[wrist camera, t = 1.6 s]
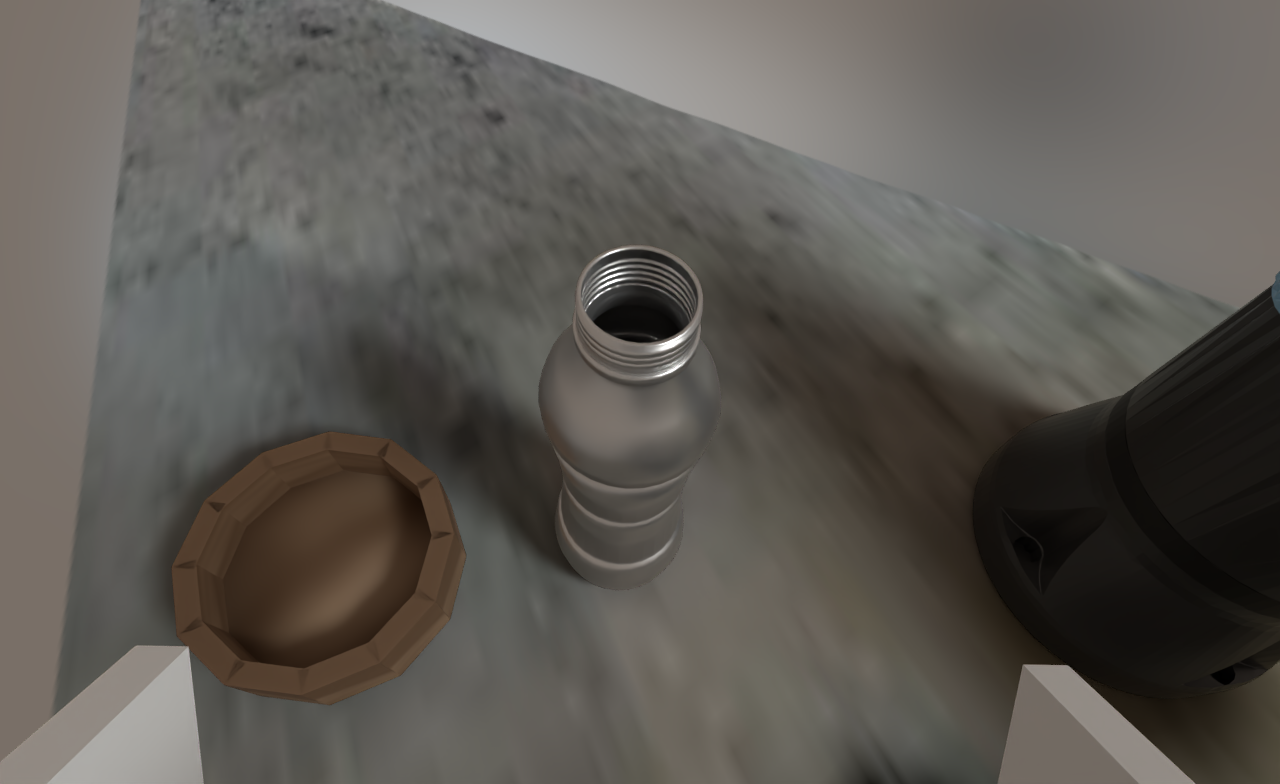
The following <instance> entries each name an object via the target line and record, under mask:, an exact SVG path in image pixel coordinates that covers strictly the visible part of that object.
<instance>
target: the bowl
mask: <svg viewBox="0 0 1280 784" xmlns="http://www.w3.org/2000/svg"><path fill="white" fill-rule="evenodd" d="M465 559H466V553H465V549H464V546H463V543H462V540H461V536H460V533H459V530H458V526H457V523H456V520H455V517H454V513H453V510H452V507H451V504H450V501H449V499H448V497H447V495H446V493H445V491H444V489H443V487H442V485H441V483H440V481H439V479H438V477H437V475H436V474H435V473H433V472H432V471H431V470H430V469H428V468H427V467H426V466H425V465H423V464H422V463H421V462H419V461H418V460H417V459H416V458H414V457H413V456H412V455H411V454H409V453H408V452H407V451H405V450H404V449H403V448H402V447H400V446H399V445H398V444H397V443H395V442H394V441H393V440H391V439H384V438H376V437H368V436H361V435H353V434H345V433H337V432H326V433H323V434H319V435H316V436H313V437H310V438H307V439H304V440H300V441H297V442H294V443H291V444H288V445H285V446H281V447H278V448H275V449H272V450H269V451H266V452H262V453H261V454H260V455H259V456H257V457H256V458H255V459H254V460H253V461H251V462H250V463H249V464H248V465H247V466H245V467H244V468H243V469H242V470H241V471H239V472H238V473H237V474H236V475H235V476H233V477H232V478H231V479H230V480H229V481H227V482H226V483H225V484H224V485H223V486H221V487H220V488H219V489H218V490H217V491H215V492H214V493H213V494H212V495H211V496H209V497H208V498H207V499H206V500H205V501H204V502H203V504H202V506H201V508H200V510H199V513H198V515H197V517H196V519H195V521H194V523H193V525H192V527H191V529H190V531H189V533H188V535H187V537H186V539H185V541H184V543H183V545H182V547H181V549H180V551H179V553H178V555H177V557H176V559H175V561H174V563H173V565H172V567H171V568H172V581H173V594H174V606H175V619H176V632H177V637H178V638H179V639H180V640H181V641H182V642H183V643H184V644H185V645H186V646H187V647H189V649H190V650H191V651H192V652H193V653H194V654H195V655H196V656H197V657H198V658H199V660H200V661H201V662H202V663H203V664H204V665H205V666H206V667H207V668H208V669H209V670H210V671H211V672H212V673H213V674H214V675H215V676H216V677H217V678H218V679H219V680H220V681H221V682H222V683H223V684H224V685H226V686H229V687H232V688H236V689H239V690H243V691H246V692H249V693H253V694H256V695H259V696H265V697H273V698H280V699H288V700H295V701H303V702H311V703H318V704H326V705H332V704H334V703H336V702H339V701H341V700H343V699H346V698H348V697H351V696H353V695H355V694H358V693H360V692H362V691H365V690H367V689H370V688H372V687H374V686H377V685H379V684H382V683H384V682H386V681H389V680H391V679H393V678H396V677H398V676H401V675H402V673H403V672H404V671H405V670H406V669H407V668H408V667H409V666H410V664H411V663H412V662H413V661H414V660H415V659H416V658H417V656H418V655H419V654H420V653H421V652H422V651H423V650H424V648H425V647H426V646H427V645H428V644H429V643H430V642H431V640H432V639H433V638H434V637H435V636H436V635H437V634H438V632H439V631H440V630H441V629H442V628H443V627H444V626H445V625H446V623H447V622H448V621H449V620H450V618H451V614H452V610H453V606H454V602H455V598H456V594H457V591H458V587H459V583H460V579H461V575H462V571H463V567H464V563H465Z"/></svg>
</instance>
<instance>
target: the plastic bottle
mask: <svg viewBox="0 0 1280 784" xmlns="http://www.w3.org/2000/svg"><path fill="white" fill-rule="evenodd" d="M702 312H703V293H702V287H701V285H700V282H699V280H698V278H697V276H696V275H695V273H694V272H693V270H692V269H691V268H690V267H689V266H688V265H687V264H686V263H685V262H684V261H683V260H681V259H680V258H678V257H677V256H676V255H674V254H672V253H670V252H668V251H666V250H663V249H660V248H656V247H653V246H647V245H625V246H619V247H615V248H612V249H609V250H607V251H605V252H603V253H601V254H599V255H597V256H596V257H595V258H594V259H592V260H591V261H590V262H589V263H588V264H587V265H586V267H585V268H584V269H583V271H582V273H581V275H580V277H579V279H578V283H577V287H576V291H575V310H574V315H573V324H572V325H571V326H569V327H568V328H567V329H566V330H565V331H564V332H563V333H562V334H561V335H560V337H559V338H558V339H557V340H556V342H555V343H554V345H553V347H552V349H551V351H550V353H549V355H548V357H547V359H546V362H545V364H544V367H543V369H542V373H541V377H540V382H539V393H538V402H539V407H540V412H541V416H542V420H543V423H544V427H545V431H546V433H547V435H548V437H549V440H550V442H551V444H552V446H553V448H554V451H555V453H556V455H557V457H558V460H559V462H560V467H561V471H562V476H563V481H562V489H561V491H560V493H559V498H558V503H557V508H556V513H555V531H556V536H557V541H558V543H559V546H560V548H561V551H562V553H563V554H564V556H565V557H566V559H567V560H568V562H569V563H570V565H571V566H572V567H573V568H574V570H575V571H576V572H577V573H578V574H580V575H581V576H582V577H583V578H584V579H586V580H587V581H589V582H590V583H592V584H594V585H597V586H599V587H602V588H605V589H611V590H629V589H633V588H637V587H640V586H642V585H644V584H646V583H648V582H650V581H651V580H653V579H654V578H655V577H657V576H658V575H659V574H660V573H661V572H662V571H664V570H665V569H666V567H667V566H668V565H669V564H670V563H671V561H672V560H673V559H674V557H675V555H676V553H677V551H678V549H679V547H680V543H681V540H682V537H683V526H684V514H683V504H682V499H681V497H682V490H683V487H684V485H685V483H686V480H687V478H688V475H689V474H690V472H691V471H692V469H693V468H694V466H695V465H696V463H697V462H698V460H699V459H700V457H701V456H702V455H703V453H704V451H705V450H706V448H707V446H708V444H709V442H710V441H711V438H712V436H713V434H714V432H715V430H716V427H717V424H718V421H719V417H720V414H721V399H722V397H721V390H720V384H719V379H718V374H717V369H716V366H715V364H714V361H713V358H712V356H711V354H710V352H709V350H708V349H707V347H706V346H705V344H704V343H703V341H702V340H701V339H700V332H701V324H700V321H701V316H702Z"/></svg>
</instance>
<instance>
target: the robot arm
mask: <svg viewBox="0 0 1280 784" xmlns="http://www.w3.org/2000/svg"><path fill="white" fill-rule="evenodd" d="M973 521H974V529H975V535H976V540H977V544H978V547H979V551H980V554H981V557H982V560H983V562H984V565H985V567H986V569H987V572H988V574H989V576H990V578H991V580H992V582H993V583H994V585H995V587H996V589H997V590H998V592H999V594H1000V595H1001V597H1002V598H1003V600H1004V601H1005V603H1006V604H1007V606H1008V607H1009V608H1010V610H1011V611H1012V612H1013V614H1014V615H1015V616H1016V617H1017V618H1018V620H1019V621H1020V622H1021V623H1022V624H1023V625H1024V626H1025V627H1026V629H1027V630H1028V631H1029V632H1030V633H1031V634H1032V635H1033V636H1034V637H1035V638H1036V639H1037V640H1038V641H1039V642H1041V643H1042V644H1043V645H1044V646H1045V647H1046V648H1047V649H1049V650H1050V651H1051V652H1052V653H1054V654H1055V655H1056V656H1058V657H1059V658H1060V659H1062V660H1063V661H1064V662H1066V663H1067V664H1069V665H1070V666H1072V667H1073V668H1075V669H1077V670H1078V671H1080V672H1081V673H1083V674H1085V675H1087V676H1089V677H1091V678H1093V679H1095V680H1097V681H1099V682H1101V683H1103V684H1105V685H1108V686H1111V687H1113V688H1116V689H1119V690H1122V691H1125V692H1128V693H1132V694H1136V695H1140V696H1146V697H1152V698H1162V699H1176V698H1187V697H1193V696H1199V695H1205V694H1211V693H1217V692H1222V691H1227V690H1230V689H1233V688H1236V687H1239V686H1241V685H1244V684H1246V683H1249V682H1251V681H1252V680H1254V679H1256V678H1258V677H1259V676H1261V675H1262V674H1263V673H1265V672H1266V671H1267V670H1269V669H1270V668H1271V667H1273V666H1274V665H1275V664H1277V663H1278V662H1279V661H1280V271H1279V272H1278V274H1277V275H1276V281H1275V283H1274V284H1273V285H1272V286H1270V287H1269V288H1268V289H1266V290H1265V291H1263V292H1262V293H1261V294H1259V295H1258V296H1257V297H1255V298H1254V299H1253V300H1251V301H1250V302H1248V303H1247V304H1246V305H1244V306H1243V307H1242V308H1240V309H1239V310H1238V311H1236V312H1235V313H1234V314H1232V315H1231V316H1229V317H1228V318H1227V319H1225V320H1224V321H1223V322H1221V323H1220V324H1219V325H1217V326H1216V327H1214V328H1213V329H1212V330H1210V331H1209V332H1208V333H1206V334H1205V335H1204V336H1202V337H1201V338H1200V339H1198V340H1197V341H1195V342H1194V343H1193V344H1191V345H1190V346H1189V347H1187V348H1186V349H1185V350H1183V351H1182V352H1180V353H1179V354H1178V355H1176V356H1175V357H1174V358H1172V359H1171V360H1170V361H1168V362H1167V363H1166V364H1164V365H1163V366H1161V367H1160V368H1159V369H1157V370H1156V371H1155V372H1153V373H1152V374H1151V375H1149V376H1148V377H1147V378H1146V379H1144V380H1143V381H1142V382H1141V383H1139V384H1138V385H1137V386H1135V387H1134V388H1133V389H1131V390H1130V391H1128V392H1127V393H1125V394H1124V395H1122V396H1118V397H1115V398H1111V399H1107V400H1104V401H1100V402H1097V403H1093V404H1090V405H1086V406H1083V407H1080V408H1076V409H1073V410H1070V411H1067V412H1064V413H1059V414H1055V415H1052V416H1049V417H1046V418H1043V419H1041V420H1039V421H1037V422H1035V423H1033V424H1031V425H1029V426H1027V427H1026V428H1024V429H1023V430H1021V431H1020V432H1019V433H1017V434H1016V435H1015V436H1014V437H1013V438H1011V439H1010V440H1009V441H1008V442H1007V443H1005V444H1004V445H1003V446H1002V447H1001V448H1000V449H999V450H997V451H996V452H995V453H994V455H993V456H992V457H991V458H990V459H989V461H988V462H987V463H986V465H985V467H984V469H983V470H982V472H981V475H980V477H979V479H978V482H977V486H976V490H975V494H974V502H973ZM0 784H204V782H203V773H202V764H201V755H200V746H199V737H198V728H197V719H196V710H195V701H194V692H193V683H192V674H191V665H190V656H189V647H186V646H139V645H136V646H135V647H134V648H132V649H131V650H130V651H129V652H128V653H127V654H125V655H124V656H123V657H122V658H121V659H120V660H118V661H117V662H116V663H115V664H114V665H113V666H111V667H110V668H109V669H108V670H107V671H106V672H104V673H103V674H102V675H101V676H100V677H99V678H97V679H96V680H95V681H94V682H93V683H92V684H90V685H89V686H88V687H87V688H86V689H85V690H83V691H82V692H81V693H80V694H79V695H78V696H76V697H75V698H74V699H73V700H72V701H71V702H69V703H68V704H67V705H66V706H65V707H64V708H62V709H61V710H60V711H59V712H58V713H57V714H55V715H54V716H53V717H52V718H51V719H49V720H48V721H47V722H46V723H45V724H44V725H43V726H41V727H40V728H39V729H38V730H37V731H36V732H34V734H32V735H31V736H30V737H28V738H27V739H26V740H25V741H24V742H23V743H22V744H20V745H19V746H18V747H17V748H16V749H15V750H13V751H12V752H11V753H10V754H9V755H8V756H6V757H5V758H4V759H3V760H2V761H1V762H0ZM998 784H1195V783H1194V782H1193V781H1192V780H1191V779H1190V778H1189V777H1188V776H1187V775H1186V774H1185V773H1183V772H1182V771H1181V770H1180V769H1179V768H1178V767H1177V766H1176V765H1175V764H1174V763H1173V762H1172V761H1171V760H1169V759H1168V758H1167V757H1166V756H1165V755H1164V754H1163V753H1162V752H1161V751H1160V750H1159V749H1158V748H1157V747H1155V746H1154V745H1153V744H1152V743H1151V742H1150V741H1149V740H1148V739H1147V738H1146V737H1145V736H1144V735H1143V734H1141V733H1140V732H1139V731H1138V730H1137V729H1136V728H1135V727H1134V726H1133V725H1132V724H1131V723H1130V722H1129V721H1127V720H1126V719H1125V718H1124V717H1123V716H1122V715H1121V714H1120V713H1119V712H1118V711H1117V710H1116V709H1115V708H1113V707H1112V706H1111V705H1110V704H1109V703H1108V702H1107V701H1106V700H1105V699H1104V698H1103V697H1102V696H1100V695H1099V694H1098V693H1097V692H1096V691H1095V690H1094V689H1093V688H1092V687H1091V686H1090V685H1089V684H1088V683H1086V682H1085V681H1084V680H1083V679H1082V678H1081V677H1080V676H1079V675H1078V674H1077V673H1076V672H1075V671H1074V670H1072V669H1071V668H1070V667H1069V666H1068V665H1027V664H1023V666H1022V671H1021V676H1020V681H1019V685H1018V690H1017V695H1016V700H1015V704H1014V709H1013V714H1012V718H1011V723H1010V728H1009V733H1008V737H1007V742H1006V747H1005V751H1004V756H1003V761H1002V766H1001V770H1000V775H999V780H998Z"/></svg>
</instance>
